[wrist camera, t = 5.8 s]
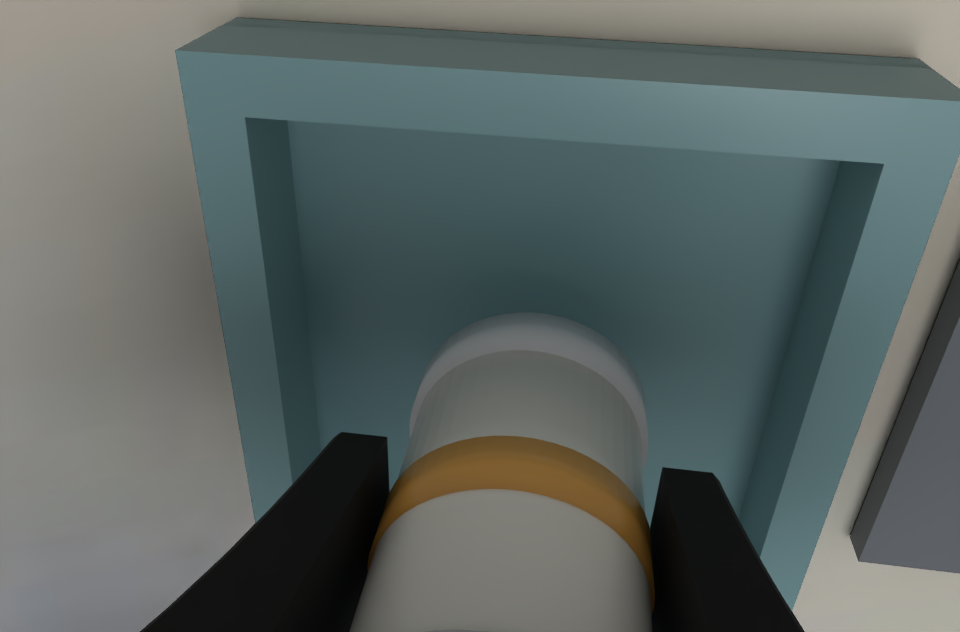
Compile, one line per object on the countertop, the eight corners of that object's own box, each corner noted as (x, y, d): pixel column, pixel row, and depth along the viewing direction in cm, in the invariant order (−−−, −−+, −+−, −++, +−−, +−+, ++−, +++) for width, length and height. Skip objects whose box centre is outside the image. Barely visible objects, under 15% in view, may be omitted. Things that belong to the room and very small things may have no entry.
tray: (918, 58, 11) (978, 103, 9) (759, 562, 16) (777, 649, 14) (236, 17, 12) (175, 50, 10) (298, 507, 17) (265, 583, 15)
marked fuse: (566, 522, 13) (543, 958, 8) (384, 429, 13) (236, 836, 8) (693, 385, 11) (764, 834, 6) (488, 270, 11) (386, 661, 6)
